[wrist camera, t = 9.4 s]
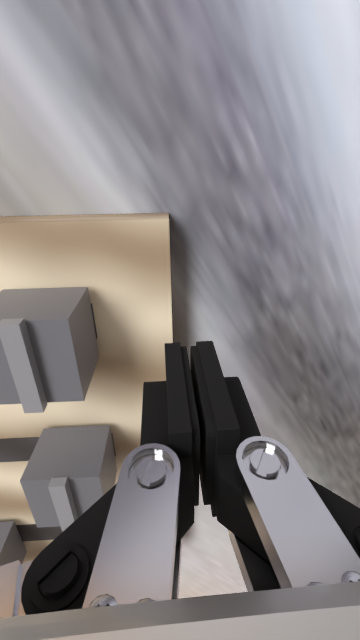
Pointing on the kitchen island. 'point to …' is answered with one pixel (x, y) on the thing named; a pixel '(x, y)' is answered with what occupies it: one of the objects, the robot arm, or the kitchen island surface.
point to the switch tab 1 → (10, 544)
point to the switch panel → (110, 328)
